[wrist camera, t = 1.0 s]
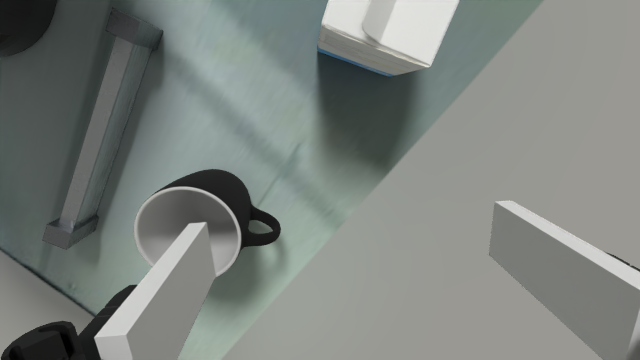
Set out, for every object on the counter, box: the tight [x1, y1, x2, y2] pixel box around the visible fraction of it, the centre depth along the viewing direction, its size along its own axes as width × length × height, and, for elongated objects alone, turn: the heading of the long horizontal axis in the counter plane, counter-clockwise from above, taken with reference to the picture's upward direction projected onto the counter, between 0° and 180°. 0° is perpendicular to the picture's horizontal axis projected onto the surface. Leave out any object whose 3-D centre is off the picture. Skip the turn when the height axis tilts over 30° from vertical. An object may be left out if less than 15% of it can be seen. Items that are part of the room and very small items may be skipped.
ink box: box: [317, 0, 460, 77], centre depth 25 cm, size 9×8×13 cm
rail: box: [42, 7, 163, 250], centre depth 32 cm, size 2×24×4 cm, turn 153°
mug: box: [134, 169, 281, 278], centre depth 31 cm, size 12×9×10 cm
